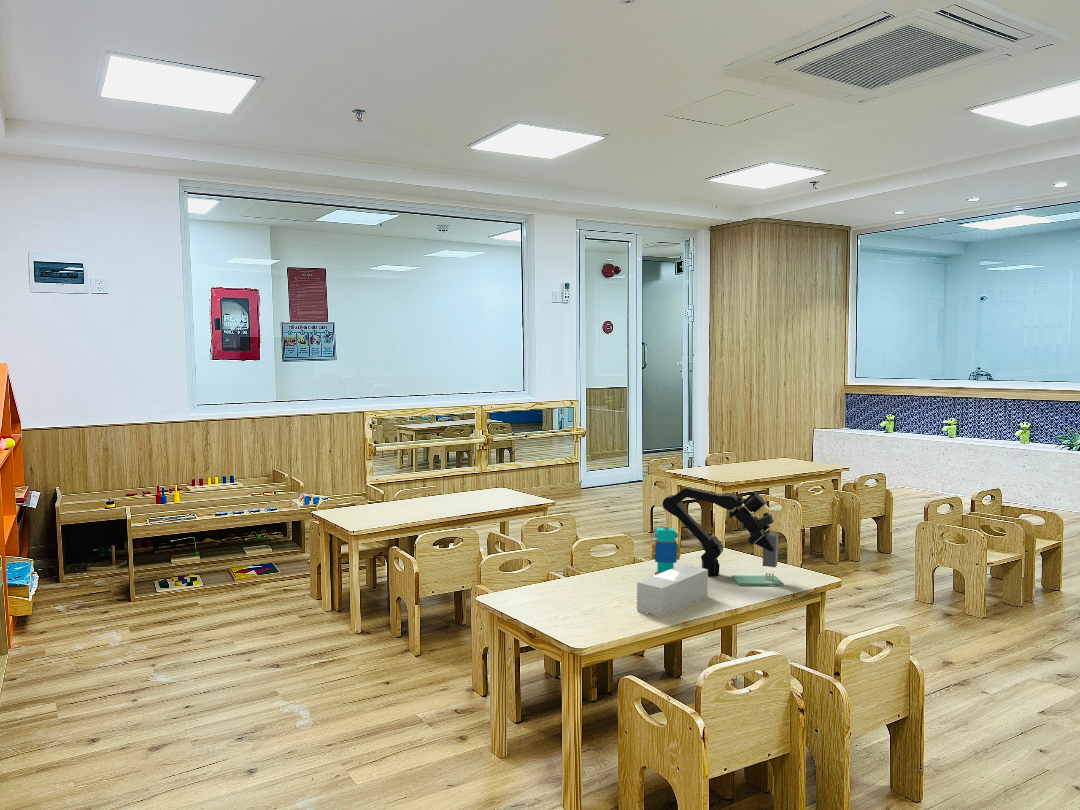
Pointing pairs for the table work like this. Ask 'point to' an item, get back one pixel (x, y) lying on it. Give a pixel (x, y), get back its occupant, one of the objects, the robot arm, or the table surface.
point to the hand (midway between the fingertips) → (773, 549)
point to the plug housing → (768, 556)
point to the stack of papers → (672, 590)
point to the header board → (757, 580)
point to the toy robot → (665, 549)
